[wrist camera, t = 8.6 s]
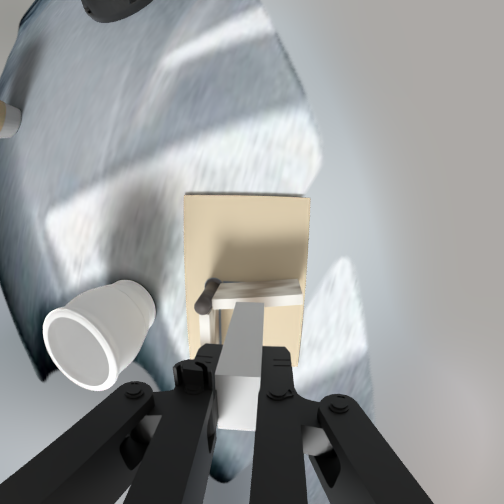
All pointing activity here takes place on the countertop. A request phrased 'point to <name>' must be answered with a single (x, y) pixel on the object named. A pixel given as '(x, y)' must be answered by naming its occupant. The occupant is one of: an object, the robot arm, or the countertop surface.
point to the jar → (99, 333)
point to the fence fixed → (209, 323)
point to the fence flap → (249, 294)
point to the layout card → (246, 257)
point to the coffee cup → (9, 120)
